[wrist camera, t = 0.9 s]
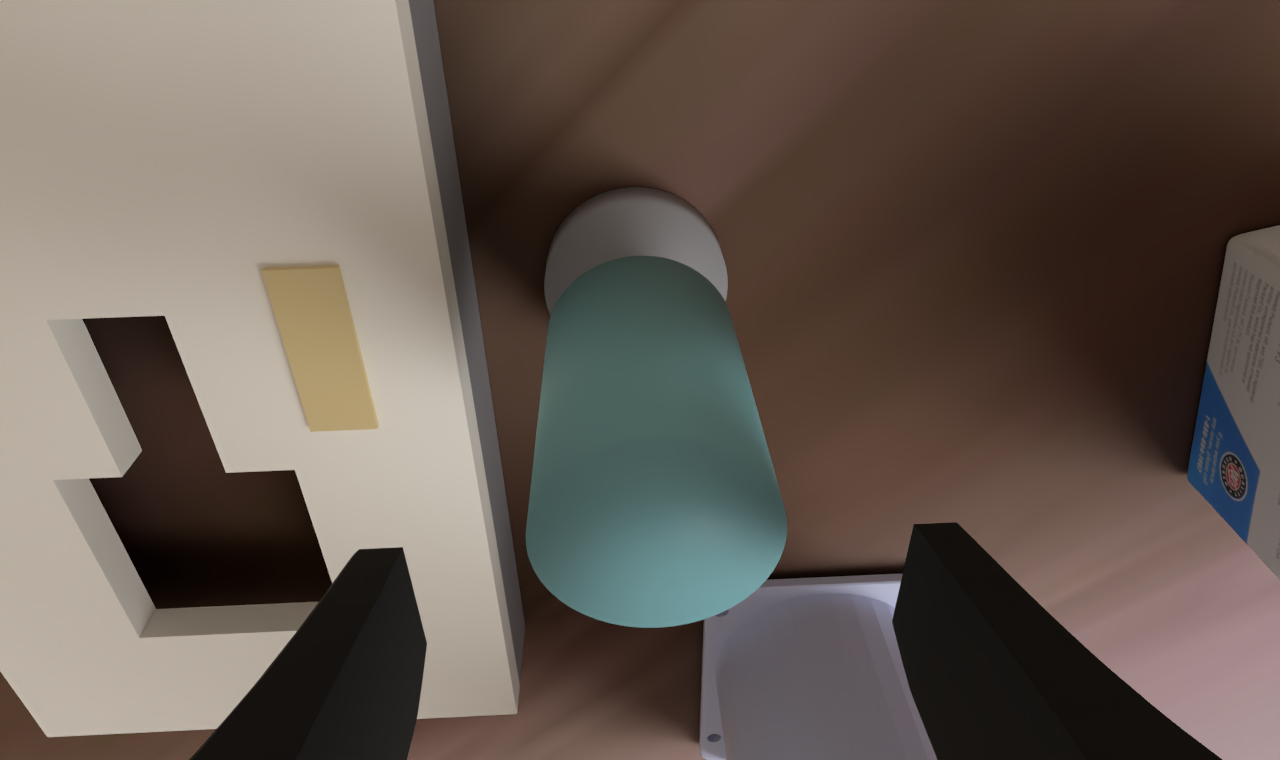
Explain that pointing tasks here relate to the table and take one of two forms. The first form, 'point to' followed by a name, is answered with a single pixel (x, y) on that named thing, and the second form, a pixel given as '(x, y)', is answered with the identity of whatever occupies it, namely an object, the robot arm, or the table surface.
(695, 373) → the peg
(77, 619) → the board
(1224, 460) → the ink box
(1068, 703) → the robot arm
